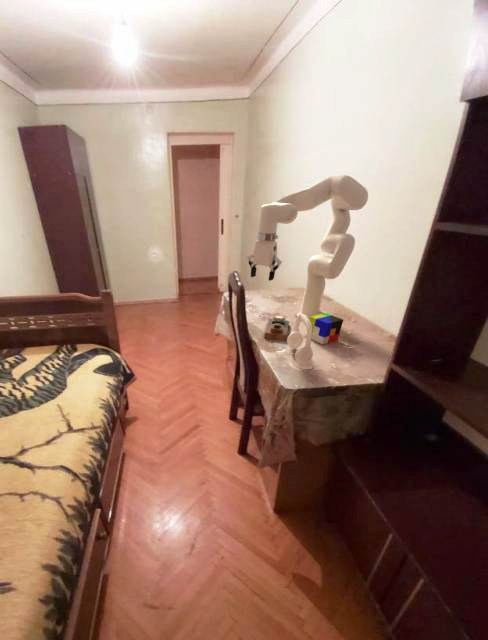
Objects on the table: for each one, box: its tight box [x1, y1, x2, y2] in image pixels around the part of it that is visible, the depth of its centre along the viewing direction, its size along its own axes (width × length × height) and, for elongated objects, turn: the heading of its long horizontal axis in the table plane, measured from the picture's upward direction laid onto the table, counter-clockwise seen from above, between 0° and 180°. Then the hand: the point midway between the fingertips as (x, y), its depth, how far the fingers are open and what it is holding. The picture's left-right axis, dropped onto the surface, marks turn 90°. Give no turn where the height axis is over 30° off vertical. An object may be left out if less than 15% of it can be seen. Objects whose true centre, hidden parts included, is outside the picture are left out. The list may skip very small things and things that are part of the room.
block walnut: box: [264, 324, 289, 342], centre depth 152 cm, size 10×10×4 cm
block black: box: [267, 316, 290, 328], centre depth 161 cm, size 10×10×4 cm
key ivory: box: [275, 315, 284, 321], centre depth 160 cm, size 3×3×2 cm
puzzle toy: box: [305, 312, 344, 345], centre depth 147 cm, size 10×10×10 cm
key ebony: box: [274, 323, 281, 328], centre depth 150 cm, size 3×3×2 cm
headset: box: [286, 314, 314, 370], centre depth 127 cm, size 20×7×18 cm, turn 176°
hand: (261, 278), depth 147 cm, fingers open, 9 cm apart
